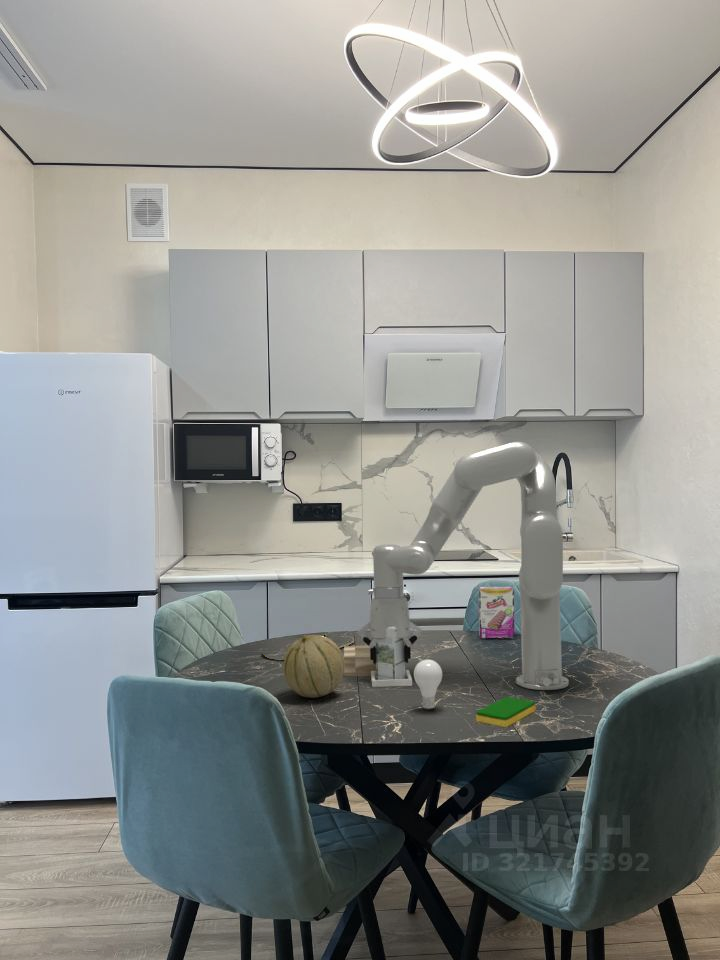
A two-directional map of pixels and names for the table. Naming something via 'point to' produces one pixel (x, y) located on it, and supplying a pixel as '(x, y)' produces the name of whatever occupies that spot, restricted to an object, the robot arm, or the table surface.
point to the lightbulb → (428, 681)
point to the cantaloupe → (313, 666)
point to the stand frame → (391, 681)
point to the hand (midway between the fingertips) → (390, 661)
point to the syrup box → (390, 656)
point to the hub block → (358, 661)
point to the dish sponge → (505, 711)
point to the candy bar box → (496, 612)
